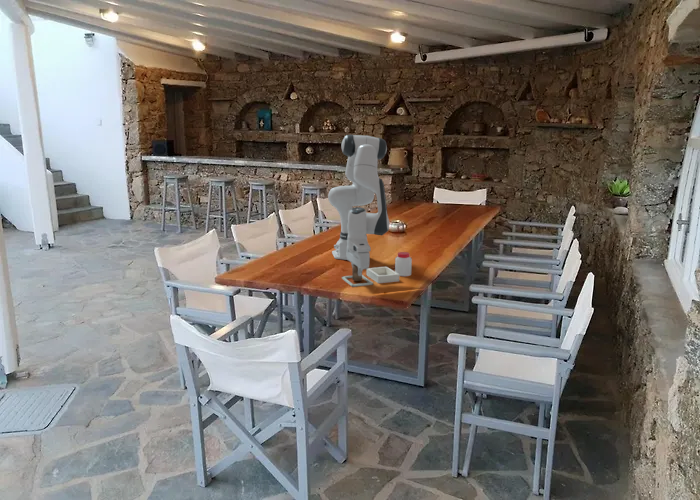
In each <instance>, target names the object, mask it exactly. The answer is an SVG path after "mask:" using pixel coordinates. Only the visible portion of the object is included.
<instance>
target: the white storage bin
mask: <svg viewBox="0 0 700 500" xmlns="http://www.w3.org/2000/svg"><path fill="white" fill-rule="evenodd" d="M365 270H366V271H365V272H366V276H367V277H368V278H370V280H373V281H374V283H375V282H376V283H377V284H384V283H385V284H386V283H393V282H400V276H399V274H398V273H396V272H395V270H393V269H391V268H389V267H388V266H377V267H369V268H368V269H365Z"/></svg>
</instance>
